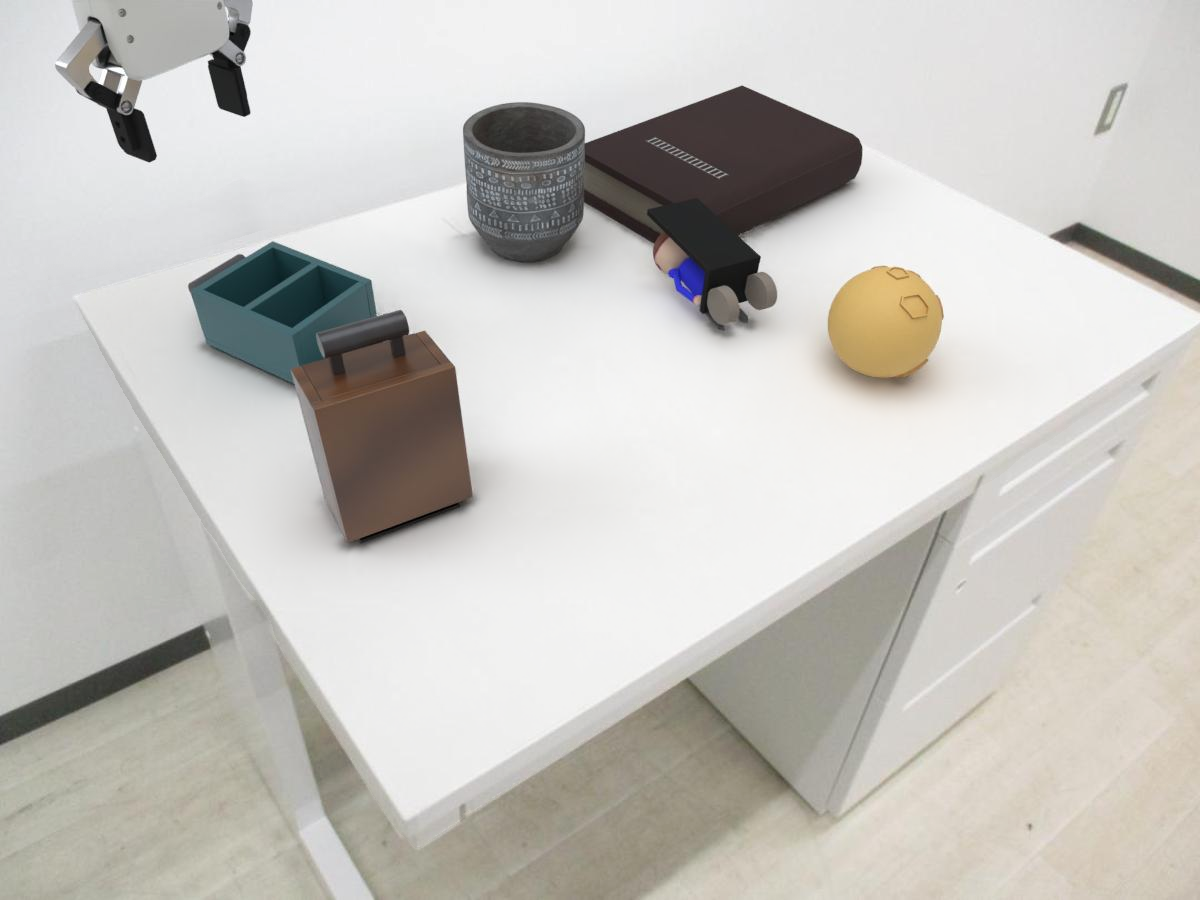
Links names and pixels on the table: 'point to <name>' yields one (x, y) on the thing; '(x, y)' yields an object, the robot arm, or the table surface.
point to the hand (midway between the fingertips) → (189, 133)
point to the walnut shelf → (383, 424)
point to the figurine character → (709, 262)
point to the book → (719, 162)
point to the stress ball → (885, 322)
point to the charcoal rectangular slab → (409, 522)
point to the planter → (525, 178)
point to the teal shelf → (278, 306)
